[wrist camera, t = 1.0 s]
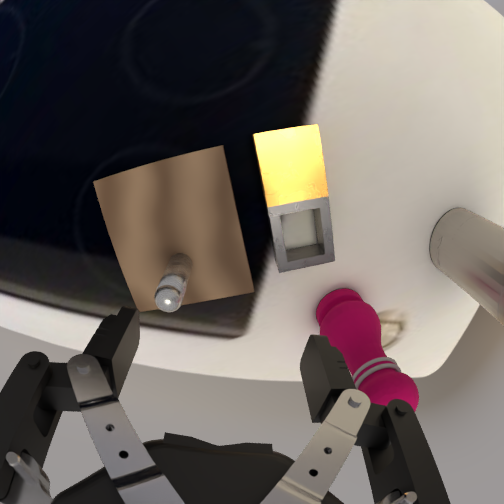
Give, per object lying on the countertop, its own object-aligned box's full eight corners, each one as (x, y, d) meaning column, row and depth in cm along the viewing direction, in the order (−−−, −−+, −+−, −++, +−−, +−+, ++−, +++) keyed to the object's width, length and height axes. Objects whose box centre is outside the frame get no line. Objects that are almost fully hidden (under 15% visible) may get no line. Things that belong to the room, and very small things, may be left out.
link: (309, 125, 28) (317, 124, 25) (327, 250, 33) (335, 261, 31) (251, 134, 28) (253, 134, 25) (275, 260, 34) (279, 272, 31)
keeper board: (223, 145, 28) (222, 145, 27) (253, 285, 35) (254, 291, 33) (99, 179, 29) (93, 181, 27) (142, 305, 35) (139, 312, 33)
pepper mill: (317, 338, 38) (362, 467, 20) (306, 295, 36) (361, 433, 17) (367, 321, 38) (434, 437, 19) (361, 276, 35) (447, 395, 17)
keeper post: (188, 250, 31) (175, 289, 23) (195, 272, 32) (184, 315, 24) (166, 255, 31) (147, 294, 23) (173, 276, 32) (157, 319, 24)
